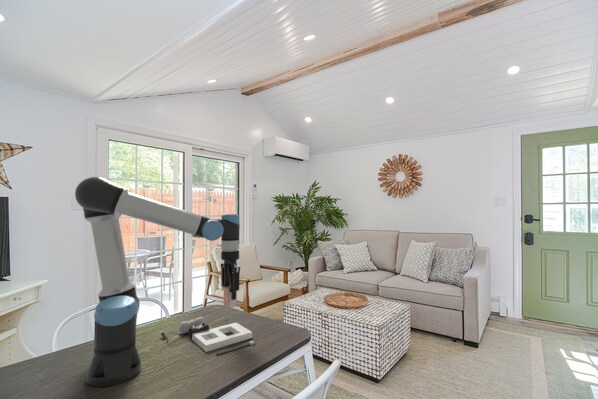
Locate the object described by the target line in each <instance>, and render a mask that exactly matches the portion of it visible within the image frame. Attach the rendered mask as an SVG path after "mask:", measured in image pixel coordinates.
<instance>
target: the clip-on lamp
mask: <svg viewBox="0 0 598 399" xmlns="http://www.w3.org/2000/svg"><path fill="white" fill-rule="evenodd" d="M209 329H210V326H209V324H205V319H204V317H203V316H199V317H197V318H194V319H192V320H183V321H182V322H180V325H179V326H178V331H179V332H174V331H169V332H168V334H167V335H166V334H165V332H164V331H160V332H161V333H160V335H161V337H162V339H163V340H164V341H168V340H169V335H170V334H171V333H172V334H174V335H181V334H183V335H184V334H189V338H190V339H192V334H194V333H198V332H202V331H206V330H209Z"/></svg>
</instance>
